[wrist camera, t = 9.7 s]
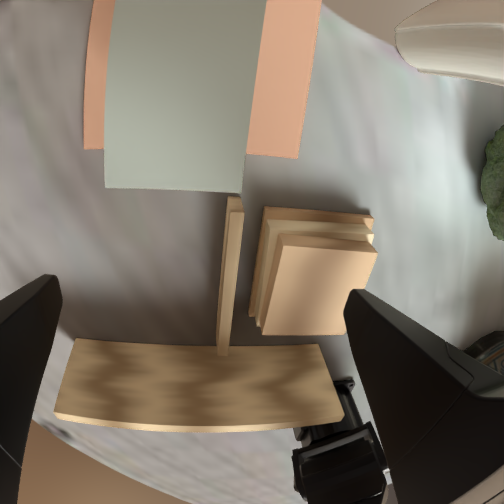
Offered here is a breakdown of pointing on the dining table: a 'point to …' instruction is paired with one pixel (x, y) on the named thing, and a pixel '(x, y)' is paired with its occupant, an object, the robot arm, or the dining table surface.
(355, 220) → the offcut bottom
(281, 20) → the mat
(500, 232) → the vegetable
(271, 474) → the dining table surface
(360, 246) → the offcut top
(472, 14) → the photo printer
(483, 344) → the beer stein
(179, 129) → the tall pale grey block
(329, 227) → the offcut middle
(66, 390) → the rack
